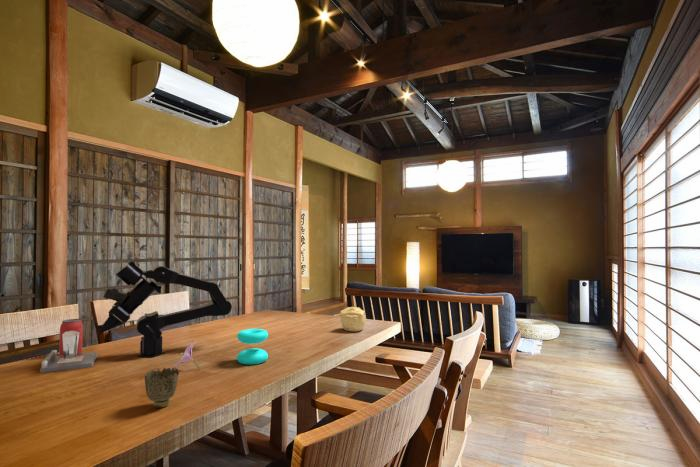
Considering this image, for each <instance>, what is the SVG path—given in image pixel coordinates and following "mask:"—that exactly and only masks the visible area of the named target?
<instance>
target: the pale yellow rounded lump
mask: <svg viewBox="0 0 700 467" xmlns="http://www.w3.org/2000/svg"><path fill="white" fill-rule="evenodd" d="M365 313H366V312H365V310H363V309H362V308H361V307H360V306H359V307H356V306H350V307H349V306H347V307H346V308H344V309H342V310H340V320H339V321H340V324H341V326H342V328H343V330H344V331H347V332H359V331H362V330H364V328H365V326H366V321H367V318H366V315H365Z"/></svg>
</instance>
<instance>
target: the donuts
mask: <svg viewBox="0 0 700 467" xmlns="http://www.w3.org/2000/svg"><path fill="white" fill-rule="evenodd" d="M268 337H269V333H268V331H267V330H265V329H263V328H262V329H261V328H248V329H243V330H241V331H239V332H237V335H236V338H237V340H238V341H239V342H240V343H242V344H245V345H246V344H247V345H249V344H250V345H254V344H260V343H263V342H265V341H266V340H267V339H268ZM268 358H269V354H268V352H267V351H266V350H264V349H262V348H255V347H254V348H246V349H244V350H241V351H240V352H238V354H237V355H236V360H237V362H238V363H239V364H242V365H246V366H248V365H249V366H250V365H251V366H252V365H259V364H262V363H265V362H266V361H267V359H268Z"/></svg>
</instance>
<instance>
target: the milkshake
mask: <svg viewBox="0 0 700 467" xmlns="http://www.w3.org/2000/svg"><path fill="white" fill-rule="evenodd" d="M81 329H82V328H81ZM80 331H81V330H80ZM79 333H80V332H77V331H68V332H64V333H63V335H62V338H63V353H64V360H65V361H70V360H75V359H76V356H77V347H78V340H79Z"/></svg>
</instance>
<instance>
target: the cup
mask: <svg viewBox="0 0 700 467" xmlns="http://www.w3.org/2000/svg"><path fill="white" fill-rule="evenodd" d="M171 369H172V370H171ZM143 375H144V385H145V393H146V396H147V398H148V399H149V400H150V401H152V406H153V407H154V408H156V409H161V408H165V407H167V406H168V405H169V404H170V403H171V400H170V399H171V398H172V397H173V396H174V394H175V393H176V391H177V386H178V380H179V379H178V378H179V369H178V368H175V367H174V368H173V367H172V368H170V367H167V368H166V367H163V369H162V370H160V368H158V369H157V371H156V370H153V369H151V370H150V371H147V372H146V374H143Z"/></svg>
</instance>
